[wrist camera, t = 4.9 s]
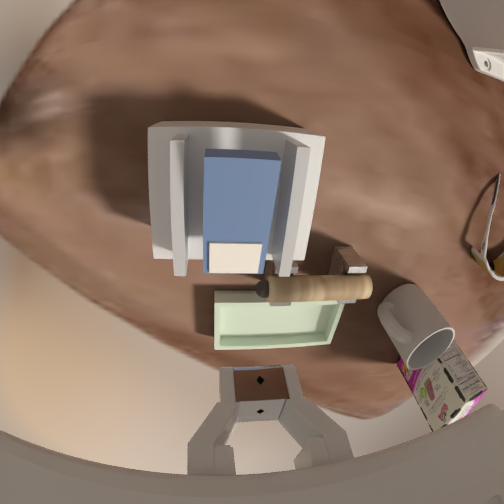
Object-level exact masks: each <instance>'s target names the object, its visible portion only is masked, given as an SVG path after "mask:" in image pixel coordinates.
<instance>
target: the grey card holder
mask: <svg viewBox="0 0 504 504" xmlns="http://www.w3.org/2000/svg"><path fill="white" fill-rule="evenodd" d="M324 144H325V136H322V135H320V134H318V133H315V132H313V131H310V130H308V129H305V128H297V127H288V126H279V125H268V124H256V123H242V122H221V121H161V122H159V123H156V124H154V125H152V126H150V127H148V181H149V203H150V219H151V233H152V244H153V255H154V259H173V265H174V276H186V271H187V263H188V259H203V189H204V156H205V149H235V150H254V151H268V152H277V153H278V155H279V157H280V159H281V167H280V174H279V180H278V186H277V193H276V199H275V205H274V211H273V217H272V224H271V230H270V236H269V242H268V248H267V254H266V260H273V261H274V264H275V267H276V270H277V273H278V276H279V277H290V272H291V267H292V262H293V260H304V259H305V254H306V249H307V244H308V239H309V233H310V228H311V223H312V217H313V212H314V206H315V200H316V195H317V189H318V183H319V177H320V170H321V164H322V158H323V151H324Z"/></svg>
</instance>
